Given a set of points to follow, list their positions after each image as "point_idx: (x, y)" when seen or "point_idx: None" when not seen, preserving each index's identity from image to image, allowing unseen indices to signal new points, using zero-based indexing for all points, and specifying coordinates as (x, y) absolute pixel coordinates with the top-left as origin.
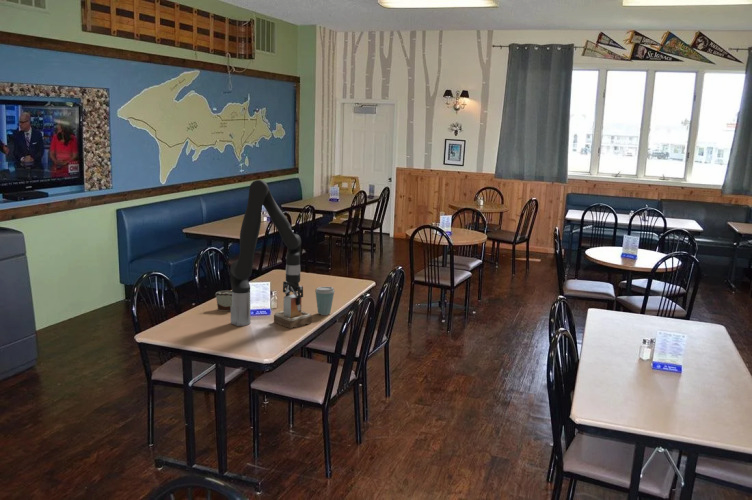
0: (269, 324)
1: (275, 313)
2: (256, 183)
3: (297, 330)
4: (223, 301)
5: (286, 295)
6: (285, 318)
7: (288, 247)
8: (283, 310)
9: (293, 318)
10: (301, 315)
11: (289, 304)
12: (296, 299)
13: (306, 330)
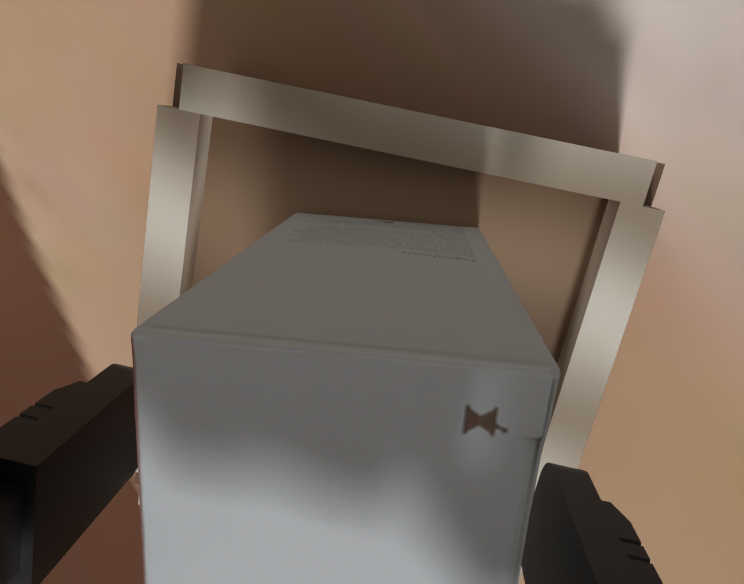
0: (609, 30)
1: (635, 166)
2: None
3: (105, 96)
4: None
5: (600, 579)
6: (307, 90)
7: None
8: (490, 248)
9: (163, 150)
10: None
11: (264, 267)
12: (20, 436)
13: (25, 177)
